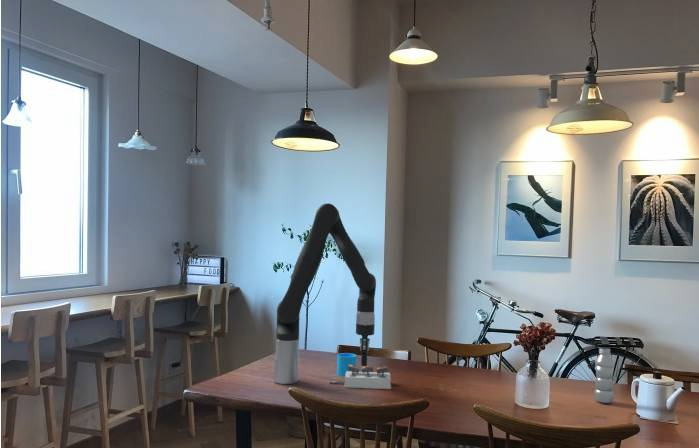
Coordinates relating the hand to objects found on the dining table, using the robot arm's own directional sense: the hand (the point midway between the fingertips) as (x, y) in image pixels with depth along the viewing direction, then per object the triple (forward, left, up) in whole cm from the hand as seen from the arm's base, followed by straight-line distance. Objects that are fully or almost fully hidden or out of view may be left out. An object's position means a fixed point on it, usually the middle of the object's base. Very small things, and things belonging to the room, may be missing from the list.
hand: (364, 365), depth 216 cm
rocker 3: (+8, 0, -2) cm, 8 cm away
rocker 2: (+2, 0, -2) cm, 3 cm away
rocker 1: (-4, 0, -2) cm, 5 cm away
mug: (-7, +17, -8) cm, 20 cm away
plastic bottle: (+90, -13, -8) cm, 91 cm away
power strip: (-2, -1, -7) cm, 8 cm away
